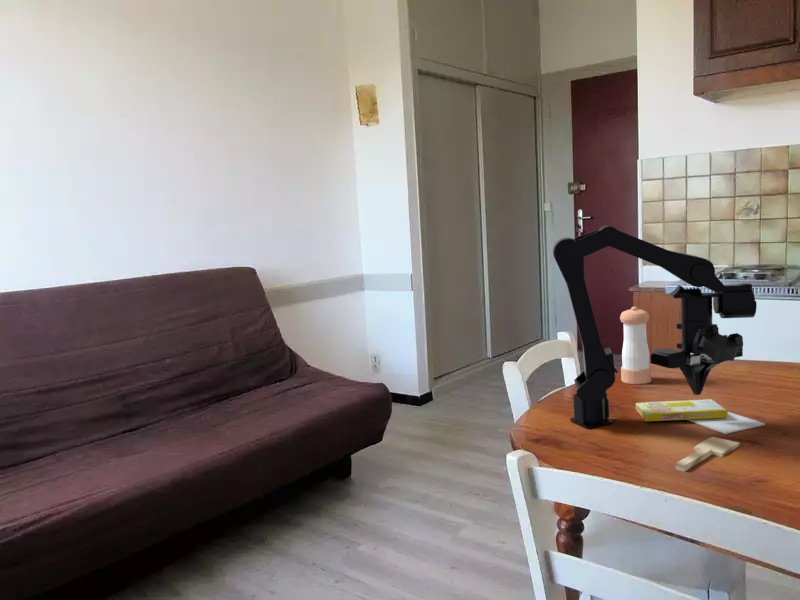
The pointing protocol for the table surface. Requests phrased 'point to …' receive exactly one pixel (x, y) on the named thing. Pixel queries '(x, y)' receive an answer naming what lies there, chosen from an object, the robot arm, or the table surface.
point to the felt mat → (728, 423)
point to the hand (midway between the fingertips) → (697, 394)
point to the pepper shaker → (635, 347)
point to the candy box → (680, 410)
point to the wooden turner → (706, 452)
